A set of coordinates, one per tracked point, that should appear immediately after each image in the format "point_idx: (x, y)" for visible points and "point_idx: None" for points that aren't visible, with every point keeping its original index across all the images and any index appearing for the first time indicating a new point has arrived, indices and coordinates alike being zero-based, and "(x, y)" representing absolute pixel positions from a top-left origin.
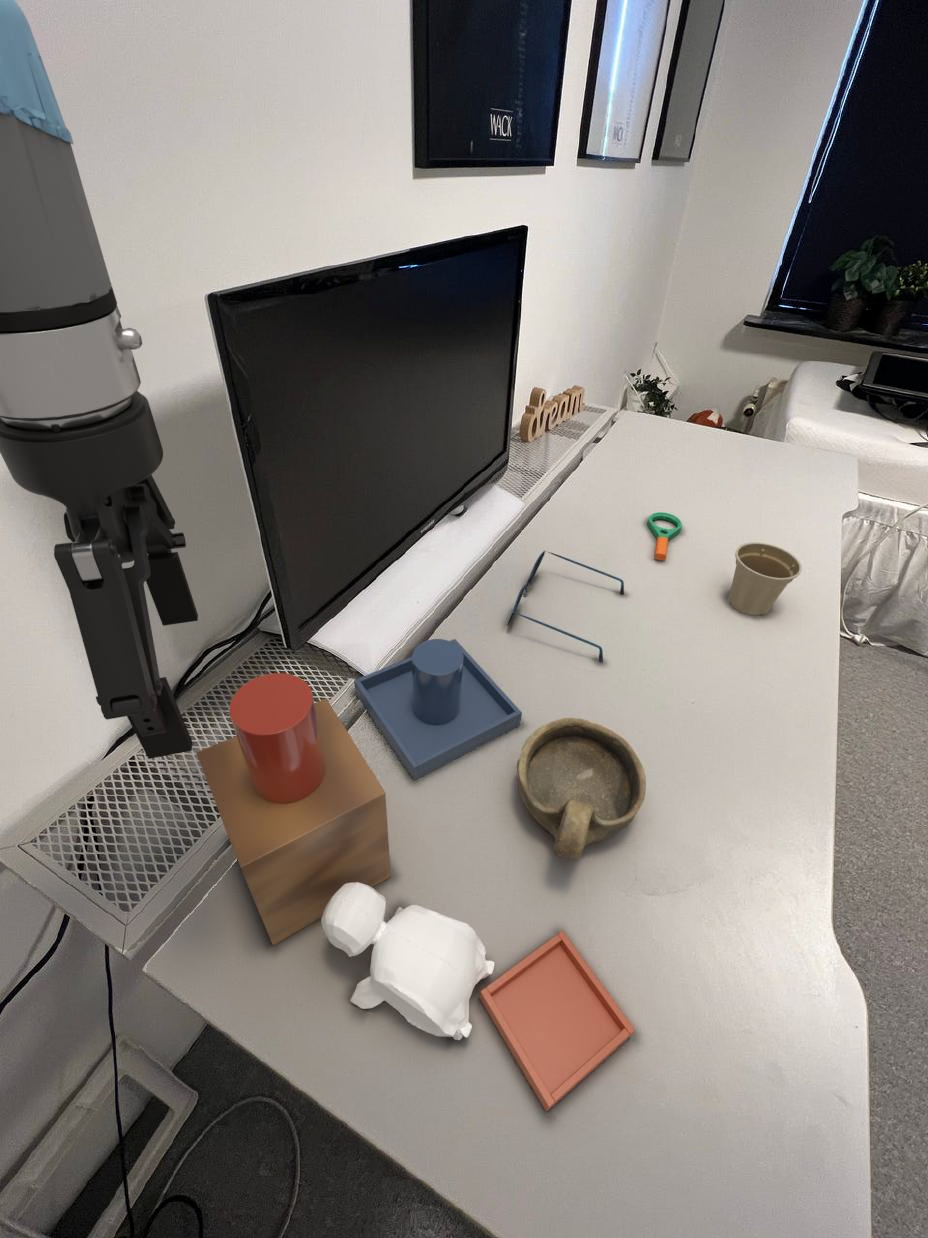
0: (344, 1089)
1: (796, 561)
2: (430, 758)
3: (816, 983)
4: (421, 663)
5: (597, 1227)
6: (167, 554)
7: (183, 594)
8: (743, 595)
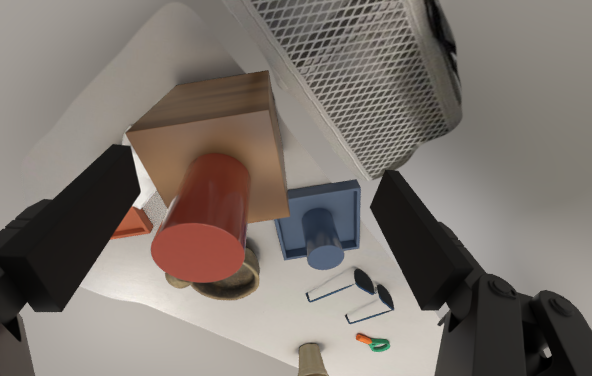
0: (82, 108)
1: None
2: None
3: (120, 293)
4: (324, 249)
5: (24, 196)
6: (442, 300)
7: (391, 237)
8: (308, 354)
